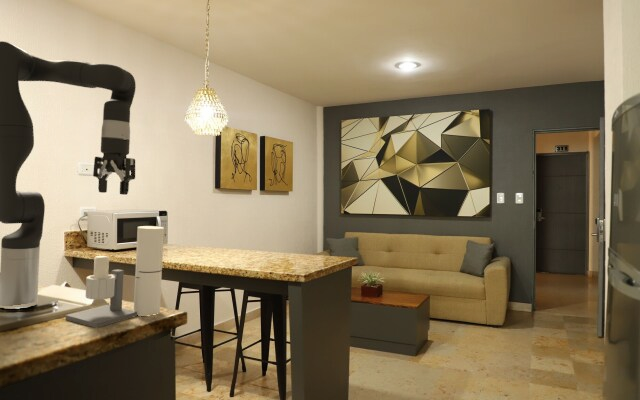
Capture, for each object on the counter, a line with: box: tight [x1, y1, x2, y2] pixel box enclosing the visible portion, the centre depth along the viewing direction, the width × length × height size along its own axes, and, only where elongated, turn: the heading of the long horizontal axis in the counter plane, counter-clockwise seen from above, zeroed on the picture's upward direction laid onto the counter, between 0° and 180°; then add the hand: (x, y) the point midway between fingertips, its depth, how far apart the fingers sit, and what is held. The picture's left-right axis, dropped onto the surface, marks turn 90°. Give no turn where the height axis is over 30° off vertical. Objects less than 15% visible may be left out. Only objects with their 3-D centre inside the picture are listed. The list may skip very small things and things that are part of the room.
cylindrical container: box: [133, 225, 165, 317], centre depth 130 cm, size 7×7×25 cm
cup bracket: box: [65, 268, 138, 329], centre depth 124 cm, size 12×13×12 cm
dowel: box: [93, 255, 110, 279], centre depth 123 cm, size 4×4×10 cm
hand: (113, 193), depth 130 cm, fingers open, 8 cm apart
